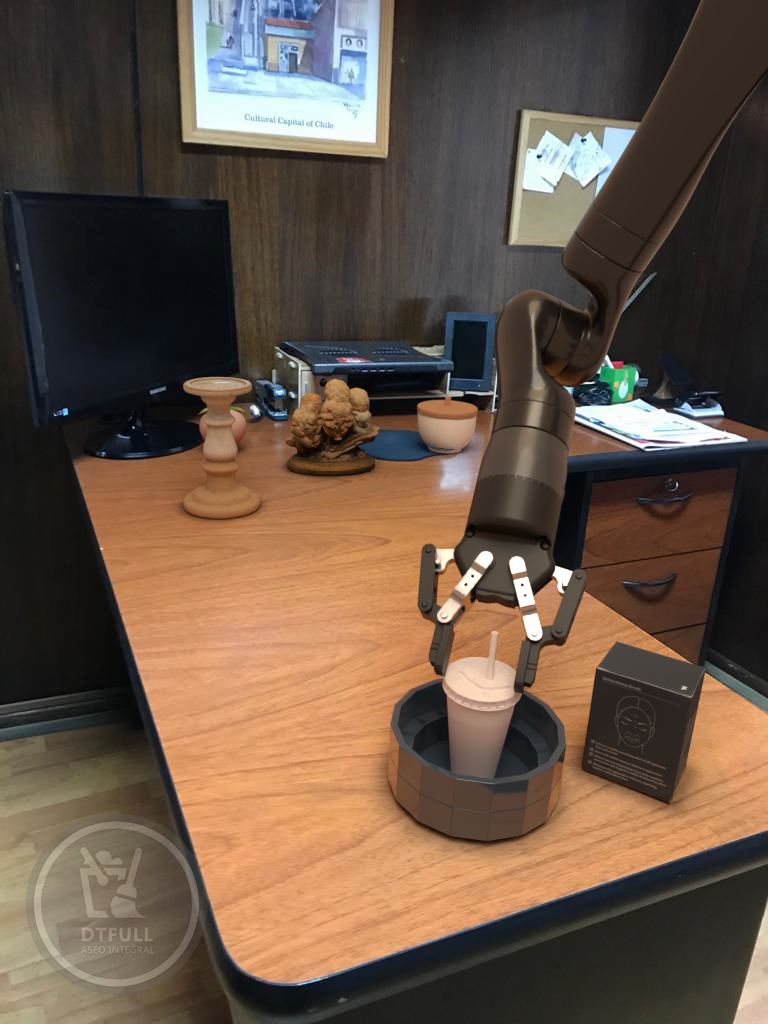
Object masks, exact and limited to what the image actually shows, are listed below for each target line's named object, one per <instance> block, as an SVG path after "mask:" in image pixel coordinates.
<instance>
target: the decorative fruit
mask: <svg viewBox="0 0 768 1024" xmlns="http://www.w3.org/2000/svg"><path fill="white" fill-rule="evenodd" d="M207 412H208V408H207V407H205V408H204V409H202V410H201V411H200V412H199V413H198V415H202V414H203V415H202V416H201V418H200V421H199V432H200V435H201V437H202V439H203V440H204V441H205V438H206V432H207V425H206V424H205V423H204V422H203V418H204V417H205V416H206V415H207ZM230 413H231V415H232V416H233V417H234V418H235V423H233V424H232V431H233V436H234V439H235V442H236V444H237V445H239V444H240V443H241V442H242V441H243V439H244V437H245V435H246V431H247V421H246V418H245V416H244V414H245V415H247V414H248V413H247V412H246V410H244V409H243V408H241V407H238V406H234V405H233V406H232V405H231V406H230Z"/></svg>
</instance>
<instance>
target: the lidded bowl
mask: <svg viewBox="0 0 768 1024" xmlns="http://www.w3.org/2000/svg"><path fill="white" fill-rule="evenodd" d="M416 412H417V414H416V415H417V416H416V417H417V418H416V423H417V431H418V434H419V437H420V439H421V441H422V442H423V443H424V444H425V443H426V444H428V445H430V446H433V447H436V448H444V449H454V450H444V449H436V448H432V447H429V446H427V449H428V450H429V451H430V452H434V453H439V454H457V453H460V452H461V451H463V450H462V449H464V448H465V447H466V446H467V445H468V444H469V443H470V441H471V440H472V438H473V437H474V434H475V430H476V426H477V418H478V417H477V416H478V414H479V409H478V407H477V406H476V405H474V404H473V403H468V402H466V401H465V402H464V401H459V400H452V397H451V396H445V398H444V399H431V400H425V401H422V402H419V403H418V404H417V405H416ZM426 444H425V445H426Z"/></svg>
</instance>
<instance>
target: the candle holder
mask: <svg viewBox="0 0 768 1024" xmlns="http://www.w3.org/2000/svg"><path fill="white" fill-rule="evenodd" d="M182 385H183V386H182V388H183V390H184V392H185V393H187V394H189V395H192V396H198V397H200V398H201V401H202V402H203V403H205V406H206V408H208V412H207V415H206V416H205V417H204V418H203V422H204V423H205V424H206V425H207V432H206V438H205V440H204V442H203V444H202V445H203V446H202V454H203V456H204V457H205V458H207V459H206V460H204V462H203V463H202V465H201V469H202V470H203V471H204V473H205V474H206V482H205V483H206V484H203V485H200V486H198V487H196V488H195V489H194V490H193V491H190V492H189V493H187V494H186V495H185V496H184V498H183V500H182V506H183V510H185V512H187V513H188V514H190V515H193V516H196V517H198V518H203V519H213V520H214V519H215V520H217V519H219V520H222V519H224V520H225V519H233V518H239V517H243V516H247V515H250V514H252V513H254V512H255V511H257V510H258V509H259V508H260V506H261V497H260V495H259V494H258V492H255V491H254V490H252V489H250V488H248V487H247V486H245V485H242V484H240V483H237V478H236V473H237V472H238V470H239V469H240V463H239V462H238V461H237V460H236V459H235V457H236V456H237V454H238V452H239V449H238V444H236V442H235V439H234V436H233V431H232V424H233V423H235V418H234V417H233V416H232V415H231V413H230V406H232V403H234V402H235V401H236V397H238V396H239V397H240V396H243V395H246V394H248V393H250V392H251V391H252V389H253V384H252V382H251V381H250V380H247V379H243V378H238V377H228V376H208V377H207V376H206V377H196V378H192V379H189V380H185V381H184V382H183V384H182Z"/></svg>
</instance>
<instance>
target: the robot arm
mask: <svg viewBox="0 0 768 1024" xmlns="http://www.w3.org/2000/svg"><path fill="white" fill-rule="evenodd" d="M767 75H768V0H700V2H699V4H698V6H697V9H696V11H695V14H694V16H693V18H692V21H691V23H690V25H689V27H688V29H687V31H686V34H685V36H684V38H683V40H682V42H681V44H680V46H679V48H678V51H677V53H676V54H675V57H674V58H673V60H672V62H671V65H670V66H669V68H668V71H667V73H666V75H665V76H664V79H663V80H662V82H661V84H660V87H659V88H658V89H657V92H656V94H655V95H654V98H653V99H652V101H651V103H650V105H649V107H648V108H647V110H646V112H645V114H644V115H643V118H642V119H641V121H640V123H639V125H638V126H637V127H636V130H635V131H634V133H633V135H632V136H631V138H630V139H629V141H628V144H627V145H626V147H625V148H624V150H623V152H622V154H620V157H619V158H618V160H617V162H616V163H615V165H614V166H613V168H612V170H611V171H610V173H609V175H608V176H607V177H606V179H605V180H604V182H603V184H602V185H601V187H600V189H599V190H598V192H597V193H596V195H595V197H594V198H593V200H592V202H591V204H590V205H589V207H588V208H587V210H586V211H585V213H584V215H583V217H582V218H581V220H580V221H579V223H578V225H577V226H576V228H575V230H574V231H573V233H572V234H571V236H570V238H569V239H568V241H567V242H566V244H565V246H564V248H563V250H562V253H561V258H560V262H561V265H562V267H563V269H564V272H566V273H567V275H568V276H570V277H571V278H572V279H573V280H574V281H575V282H576V283H577V284H579V285H580V286H581V288H583V289H585V290H586V291H587V292H588V293H589V301H588V303H587V306H586V307H585V308H584V310H582V309H580V308H577V307H576V306H573V305H571V304H570V303H567V302H565V301H563V300H561V299H560V298H557V297H555V296H553V295H551V294H549V293H547V292H545V291H543V290H538V289H531V288H530V289H525V290H522V291H521V292H519V293H516V294H515V295H514V296H512V297H511V298H510V299H509V300H508V301H507V302H506V303H505V305H504V307H503V308H502V310H501V312H500V314H499V316H498V320H497V323H496V326H495V332H494V361H495V370H496V386H497V387H496V389H497V390H496V391H497V406H496V410H495V414H494V419H493V422H492V427H491V431H490V434H489V435H490V436H489V440H488V443H487V446H486V448H485V451H484V453H483V456H482V458H481V461H480V466H479V468H478V469H479V470H478V473H477V478H476V482H475V485H474V490H473V496H472V500H471V503H470V508H469V512H468V516H467V520H466V524H465V529H464V532H463V536H462V538H461V540H460V541H459V543H457V544H456V546H455V547H454V548H437V547H436V546H435V545H434V543H431V542H430V543H426V544H424V545H423V546H422V548H421V554H420V567H419V568H420V569H419V578H418V580H419V581H418V583H419V584H418V593H417V608H418V611H419V613H420V614H421V616H422V618H423V619H424V620H426V621H429V622H431V623H433V624H434V625H435V626H434V631H433V635H432V639H431V643H430V647H429V651H428V662H429V664H430V666H431V667H432V668H433V671H434V674H435V675H436V676H440V677H444V676H445V675H446V671H447V667H448V666H449V662H450V658H451V653H452V649H453V645H454V641H455V636H456V633H455V630H454V629H455V628H456V626H457V625H458V624H459V622H460V621H461V620H462V619H463V617H464V616H465V614H467V613H469V612H470V611H471V610H472V608H473V607H474V606H475V604H476V603H477V602H478V603H481V604H487V605H488V604H489V605H490V604H498V605H500V606H503V607H504V608H509V609H514V610H515V609H516V608H518V612H519V615H520V619H521V622H522V626H523V629H524V634H525V637H524V640H521V645H520V650H519V656H518V660H517V664H516V665H517V666H516V669H515V671H516V675H515V681H514V692H517V693H522V694H523V693H524V690H525V688H532V687H533V685H534V684H535V681H536V677H537V671H538V670H537V669H538V665H539V660H540V656H541V655H540V654H541V652H542V650H543V649H544V648H546V647H549V646H555V647H562V646H564V645H565V644H566V643H567V641H568V638H569V635H570V632H571V629H572V627H573V624H574V621H575V618H576V616H577V613H578V610H579V608H580V605H581V602H582V599H583V597H584V594H585V591H586V588H587V587H586V586H587V581H588V580H587V579H588V575H587V572H586V571H585V570H584V569H582V568H581V569H580V568H576V569H574V570H573V571H572V570H569V569H568V568H567V569H566V568H564V567H561V566H557V565H556V561H555V559H554V556H553V555H554V548H555V543H556V537H557V531H558V526H559V520H560V517H561V510H562V504H563V502H564V499H565V495H566V490H565V489H566V483H567V477H568V458H569V451H570V448H571V447H570V446H571V442H572V436H573V431H574V424H575V419H576V411H577V409H576V407H577V406H576V401H575V398H574V396H573V395H572V394H571V392H570V391H569V390H568V389H567V388H575V387H579V386H581V385H584V384H585V383H587V382H589V381H590V380H591V379H592V378H593V377H595V376H596V375H597V373H598V372H599V371H600V369H601V368H602V366H603V364H604V363H605V360H606V357H607V355H608V352H609V349H610V347H611V344H612V341H613V337H614V334H615V332H616V329H617V326H618V323H619V321H620V318H621V316H622V313H623V311H624V309H625V306H626V305H627V302H628V300H629V298H630V296H631V293H632V291H633V290H634V289H633V288H634V287H635V285H636V284H637V282H638V280H639V278H640V277H641V276H642V275H643V273H644V271H645V270H646V269H647V268H648V266H649V264H650V263H651V261H652V260H653V259H654V257H655V255H656V254H657V253H658V251H659V250H660V248H661V247H662V245H663V244H664V243H665V240H666V239H667V238H668V236H669V235H670V234H671V232H672V230H673V229H674V227H675V226H676V224H677V222H678V221H679V219H680V217H681V216H682V214H683V213H684V210H685V209H686V207H687V206H688V204H689V202H690V200H691V198H692V196H693V194H694V192H695V190H696V188H697V186H698V184H699V182H700V180H701V179H702V176H703V174H704V173H705V171H706V169H707V167H708V165H709V163H710V161H711V159H712V157H713V155H714V153H715V152H716V150H717V148H718V147H719V145H720V143H721V141H722V139H723V138H724V136H725V135H726V133H727V132H728V129H729V128H730V126H731V125H732V123H733V121H734V120H735V118H736V117H737V116H738V113H739V112H740V111H741V109H742V108H743V106H744V105H745V104H746V103H747V101H748V99H749V98H750V97H751V95H752V94H753V92H754V91H755V89H756V88H757V87H758V86H759V84H760V83H761V82H762V81H763V79H764V78H765V77H766V76H767ZM451 564H455V565H456V568H457V571H458V572H459V574H460V576H461V578H460V580H459V581H458V582H457V584H456V585H455V586H454V588H453V589H452V591H451V594H450V596H449V597H448V598H447V600H446V601H445V602H444V603H443V604H442V606H441V605H439V604H438V591H439V576H442V575H444V574H446V572H447V571H448V567H449V566H450V565H451ZM552 581H554V582H555V583H556V584H557V587H556V588H557V589H556V590H557V591H556V592H557V594H558V595H559V596H560V597H561V598H562V599H561V602H560V604H559V606H558V609H557V612H556V615H555V617H554V620H553V623H552V624H551V625H550V624H549V625H541V622H540V618H539V613H538V611H537V609H538V608H537V606H536V602H535V598H534V597H535V596H536V595H537V594H539V592H541V591H542V590H543V589H544V588H545V587H546V586H547V585H549V584H550V583H551V582H552Z"/></svg>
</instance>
